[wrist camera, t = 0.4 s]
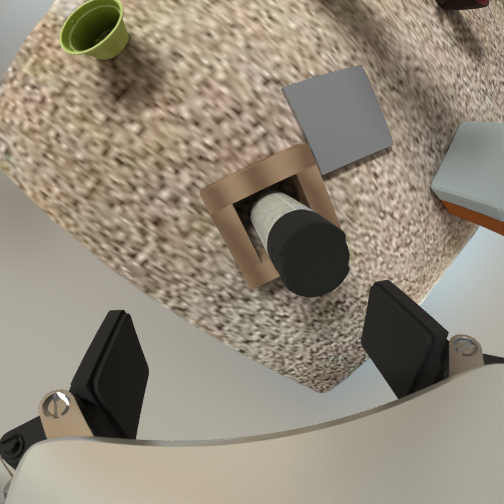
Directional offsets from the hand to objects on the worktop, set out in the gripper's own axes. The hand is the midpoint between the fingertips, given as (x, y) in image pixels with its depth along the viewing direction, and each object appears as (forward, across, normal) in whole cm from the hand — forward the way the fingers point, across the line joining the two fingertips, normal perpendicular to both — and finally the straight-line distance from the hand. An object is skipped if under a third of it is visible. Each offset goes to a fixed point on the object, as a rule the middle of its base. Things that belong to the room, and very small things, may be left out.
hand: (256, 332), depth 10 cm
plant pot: (+31, +16, -27) cm, 44 cm away
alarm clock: (+31, -45, -6) cm, 55 cm away
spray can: (+31, -6, +2) cm, 32 cm away
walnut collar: (+31, -6, +2) cm, 32 cm away
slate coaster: (+31, -18, -12) cm, 37 cm away
